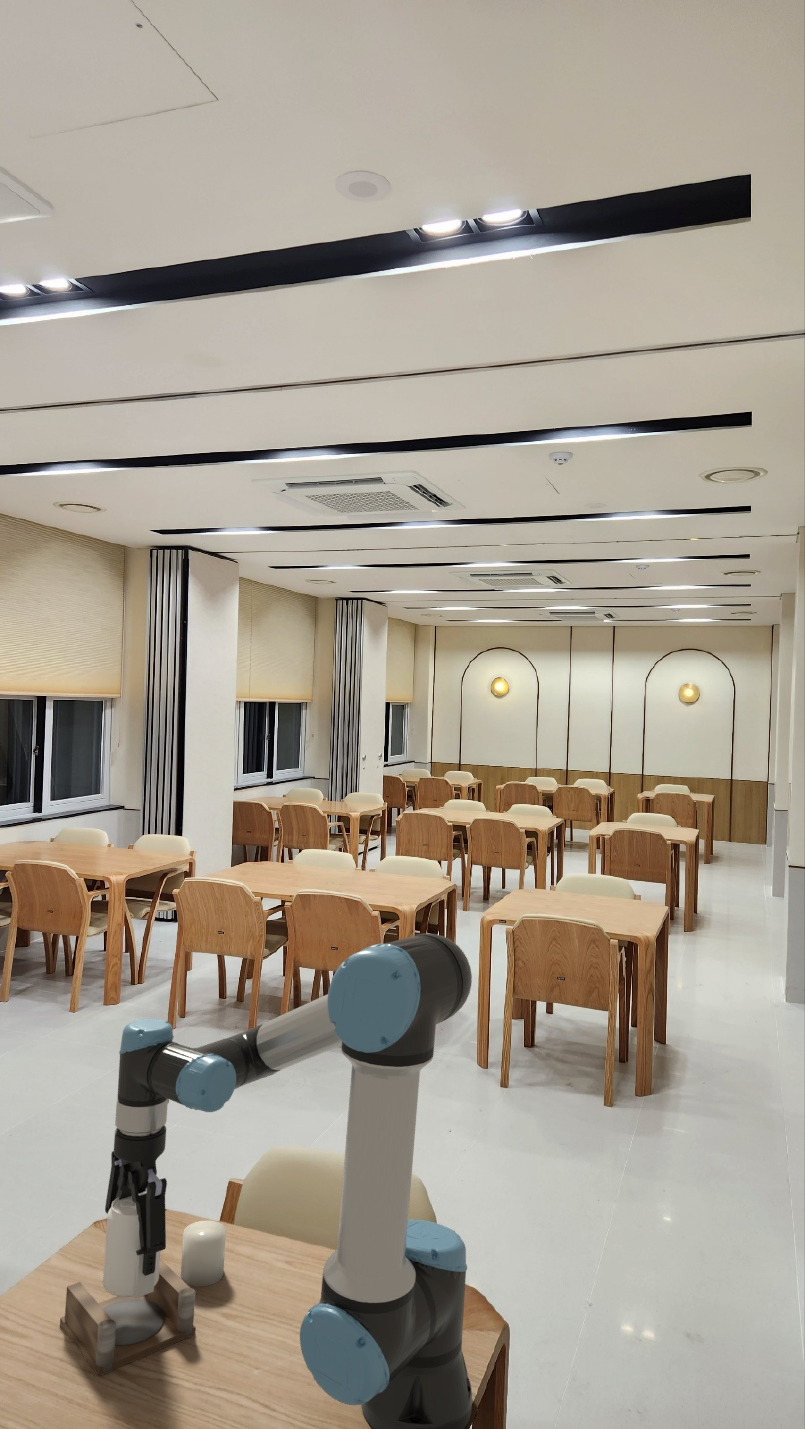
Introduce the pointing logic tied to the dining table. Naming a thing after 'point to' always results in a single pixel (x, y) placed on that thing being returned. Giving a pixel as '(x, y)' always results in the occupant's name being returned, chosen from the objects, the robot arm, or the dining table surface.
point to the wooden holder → (129, 1321)
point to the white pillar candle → (203, 1253)
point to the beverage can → (123, 1248)
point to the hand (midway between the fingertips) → (130, 1279)
